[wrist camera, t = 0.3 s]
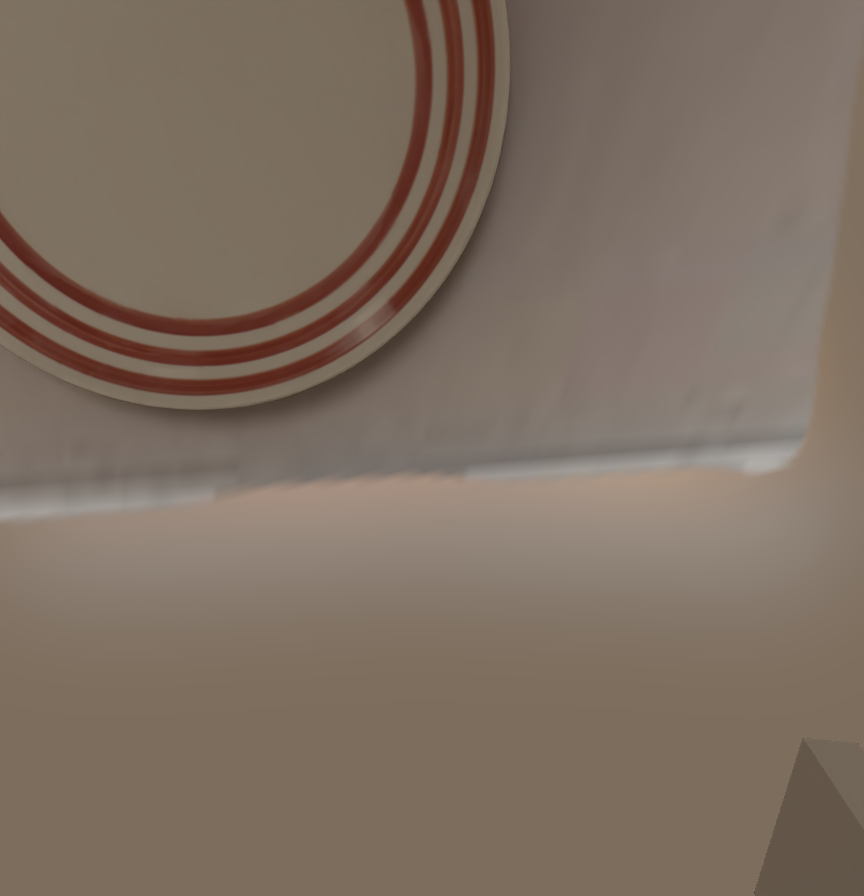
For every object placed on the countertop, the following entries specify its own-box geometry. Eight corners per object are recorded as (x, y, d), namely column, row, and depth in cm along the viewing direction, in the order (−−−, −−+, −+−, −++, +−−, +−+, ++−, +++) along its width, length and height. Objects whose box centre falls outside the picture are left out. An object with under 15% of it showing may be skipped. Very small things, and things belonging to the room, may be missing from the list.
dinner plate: (-265, -137, 31) (-344, -174, 28) (366, -446, 28) (356, -527, 25) (61, 466, 39) (27, 490, 36) (582, 279, 36) (596, 287, 33)
